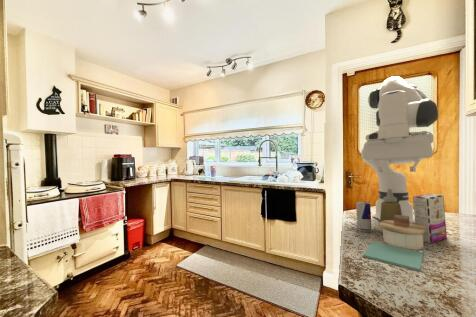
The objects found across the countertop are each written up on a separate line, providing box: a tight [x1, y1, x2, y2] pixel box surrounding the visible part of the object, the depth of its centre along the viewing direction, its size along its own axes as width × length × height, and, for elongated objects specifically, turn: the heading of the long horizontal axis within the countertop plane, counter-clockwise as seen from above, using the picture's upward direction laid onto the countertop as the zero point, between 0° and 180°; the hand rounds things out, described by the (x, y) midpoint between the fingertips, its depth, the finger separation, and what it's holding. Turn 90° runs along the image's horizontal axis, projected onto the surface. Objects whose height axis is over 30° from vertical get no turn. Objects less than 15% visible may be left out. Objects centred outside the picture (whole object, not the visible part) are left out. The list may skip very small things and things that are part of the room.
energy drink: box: [355, 201, 373, 233], centre depth 89 cm, size 5×5×12 cm
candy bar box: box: [412, 193, 448, 244], centre depth 77 cm, size 11×5×16 cm, turn 114°
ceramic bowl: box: [382, 228, 425, 251], centre depth 73 cm, size 11×11×6 cm
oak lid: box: [379, 215, 427, 235], centre depth 74 cm, size 13×13×4 cm
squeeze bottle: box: [379, 189, 402, 223], centre depth 86 cm, size 8×8×18 cm
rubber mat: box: [362, 241, 424, 272], centre depth 65 cm, size 14×14×1 cm
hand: (395, 171), depth 75 cm, fingers open, 8 cm apart
